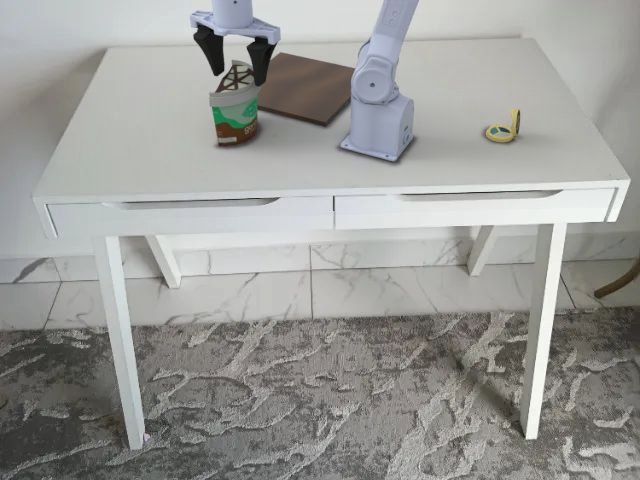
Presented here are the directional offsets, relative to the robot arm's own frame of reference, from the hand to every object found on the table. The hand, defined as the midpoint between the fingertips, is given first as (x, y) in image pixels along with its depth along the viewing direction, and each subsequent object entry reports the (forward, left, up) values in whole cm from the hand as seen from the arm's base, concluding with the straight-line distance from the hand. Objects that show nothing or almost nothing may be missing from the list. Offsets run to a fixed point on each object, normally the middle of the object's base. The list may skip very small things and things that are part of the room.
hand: (239, 78), depth 102 cm
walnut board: (-1, -18, -10) cm, 20 cm away
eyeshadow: (-38, -18, -10) cm, 43 cm away
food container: (0, 0, -10) cm, 10 cm away
